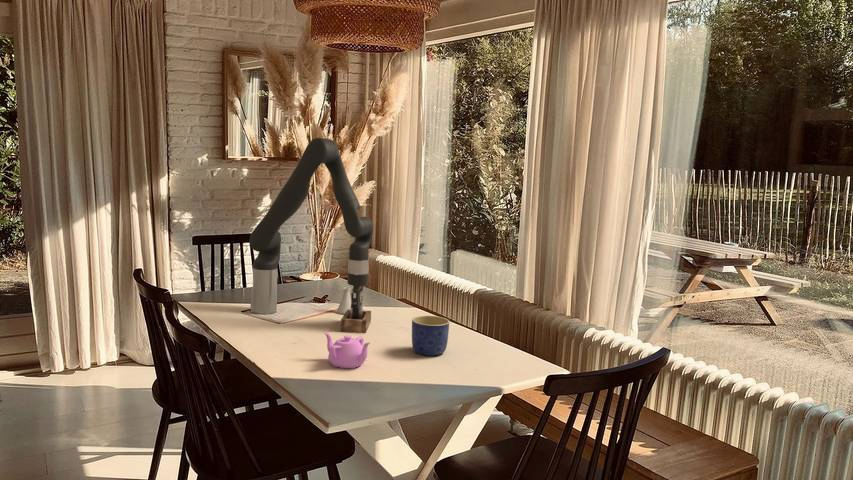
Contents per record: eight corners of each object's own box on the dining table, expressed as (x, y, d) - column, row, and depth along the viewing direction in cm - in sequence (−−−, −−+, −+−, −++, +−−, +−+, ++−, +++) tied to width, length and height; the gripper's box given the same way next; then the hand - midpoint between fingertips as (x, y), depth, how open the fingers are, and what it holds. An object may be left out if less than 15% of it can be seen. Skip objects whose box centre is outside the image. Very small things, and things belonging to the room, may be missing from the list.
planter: (420, 359, 225) (422, 326, 224) (404, 348, 236) (405, 316, 235) (454, 355, 231) (456, 323, 230) (436, 345, 242) (438, 314, 240)
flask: (356, 311, 283) (357, 286, 281) (352, 315, 276) (353, 290, 274) (338, 309, 283) (339, 285, 282) (334, 314, 276) (335, 289, 275)
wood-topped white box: (349, 328, 258) (350, 304, 256) (351, 325, 261) (352, 301, 260) (360, 328, 257) (361, 304, 256) (362, 325, 261) (363, 302, 260)
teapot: (369, 370, 213) (370, 341, 212) (323, 370, 211) (324, 341, 209) (366, 357, 224) (368, 330, 223) (323, 357, 222) (323, 330, 221)
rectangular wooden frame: (340, 331, 252) (341, 319, 251) (347, 320, 267) (347, 309, 266) (365, 333, 252) (366, 321, 251) (370, 322, 267) (371, 310, 266)
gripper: (350, 267, 264) (349, 311, 266) (344, 274, 249) (343, 320, 252) (370, 268, 263) (369, 312, 266) (365, 276, 249) (364, 322, 252)
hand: (356, 316), depth 259 cm, fingers open, 6 cm apart
